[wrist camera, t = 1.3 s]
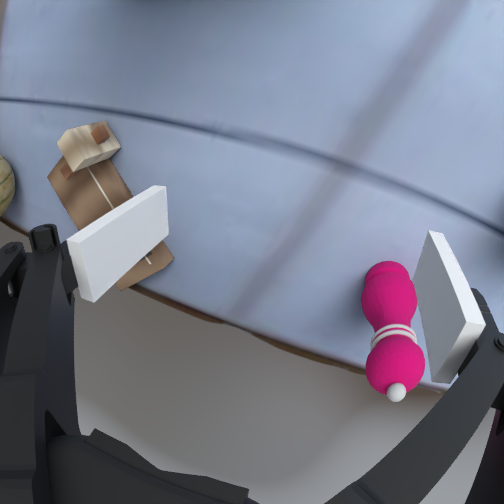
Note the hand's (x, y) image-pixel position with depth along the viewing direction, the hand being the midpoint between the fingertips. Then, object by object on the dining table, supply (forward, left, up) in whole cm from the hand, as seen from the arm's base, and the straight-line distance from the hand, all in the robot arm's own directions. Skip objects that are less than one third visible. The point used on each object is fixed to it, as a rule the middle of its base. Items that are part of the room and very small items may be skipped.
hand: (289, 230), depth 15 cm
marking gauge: (-18, -28, -24) cm, 41 cm away
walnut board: (-9, -34, -24) cm, 42 cm away
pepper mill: (+19, -1, -25) cm, 31 cm away
